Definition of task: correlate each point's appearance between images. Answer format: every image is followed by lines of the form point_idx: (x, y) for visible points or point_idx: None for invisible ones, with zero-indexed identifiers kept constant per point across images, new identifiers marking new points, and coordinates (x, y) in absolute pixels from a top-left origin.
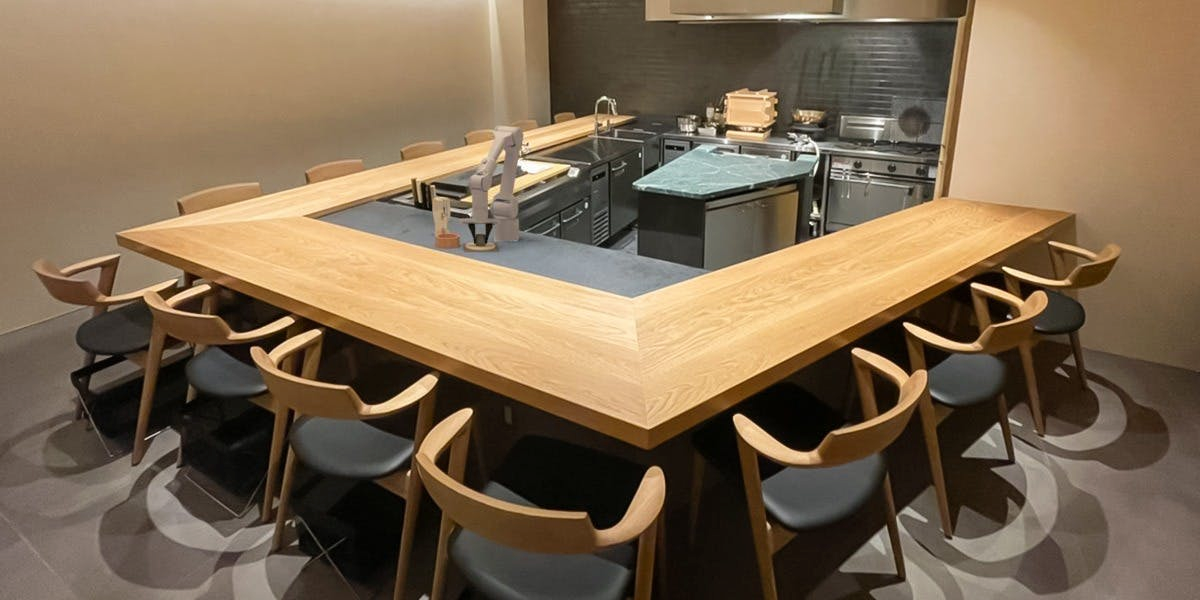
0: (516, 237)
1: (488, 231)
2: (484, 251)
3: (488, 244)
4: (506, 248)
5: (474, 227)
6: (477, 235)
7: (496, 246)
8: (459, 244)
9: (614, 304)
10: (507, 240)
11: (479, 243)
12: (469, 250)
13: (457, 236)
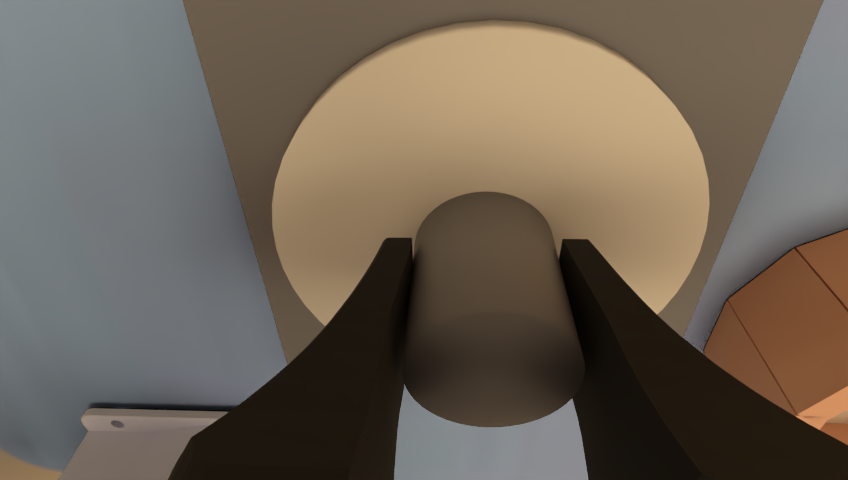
0: (93, 458)
1: (317, 380)
2: None
3: None
4: (143, 212)
5: (736, 475)
6: (556, 348)
7: (274, 263)
8: (748, 318)
9: None
10: (191, 429)
11: (511, 221)
12: (690, 70)
13: (828, 418)
